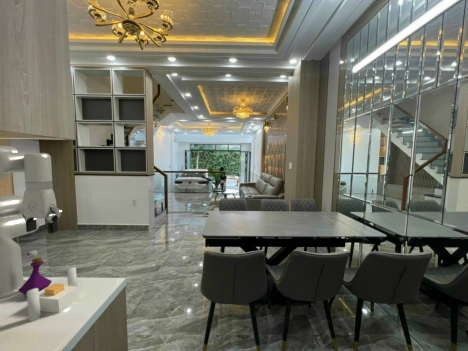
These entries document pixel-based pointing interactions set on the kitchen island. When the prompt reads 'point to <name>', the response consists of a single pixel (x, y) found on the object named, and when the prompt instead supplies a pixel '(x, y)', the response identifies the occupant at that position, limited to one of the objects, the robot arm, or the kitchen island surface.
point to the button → (54, 289)
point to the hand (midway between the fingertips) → (42, 231)
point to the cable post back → (72, 277)
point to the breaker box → (58, 299)
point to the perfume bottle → (35, 276)
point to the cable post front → (33, 304)
